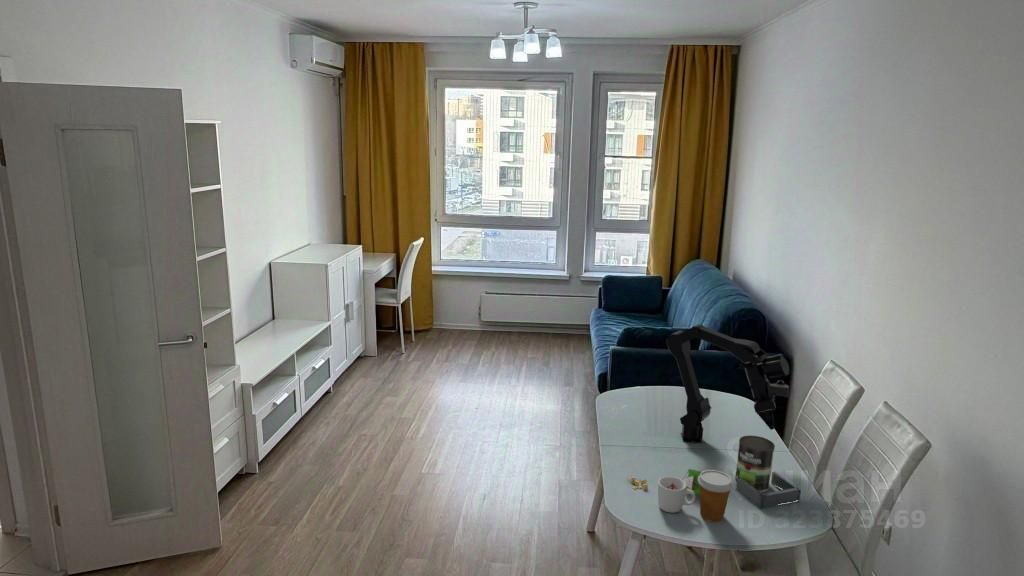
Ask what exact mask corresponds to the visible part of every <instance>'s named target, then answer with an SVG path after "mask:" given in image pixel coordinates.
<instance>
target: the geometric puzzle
mask: <svg viewBox="0 0 1024 576" xmlns="http://www.w3.org/2000/svg"><path fill="white" fill-rule="evenodd" d="M701 472H702V471H698V470H695V469H690V468H689V469H688V470H687V472H686V474H685V475H684V477H683V478H682V480H683V481H684V482H685V484H686V488H687V489H690V490H692V491H694V493H695V495H699V496H700V493H699V492H700V491H699V482H698V476H700V473H701ZM686 475H687V476H686Z"/></svg>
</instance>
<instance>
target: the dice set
mask: <svg viewBox="0 0 1024 576" xmlns="http://www.w3.org/2000/svg"><path fill="white" fill-rule="evenodd" d="M630 483H631V484H634V485H635V486H632V489H634V490H636V489H639V490H641V489H642V490H643V491H647V490H648V489H649V487H648V486H649V485H648V484H647V480H646V479H641V480H640V481H639V479H636V477H634V476H632V477H630ZM640 488H641V489H640Z"/></svg>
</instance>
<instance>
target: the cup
mask: <svg viewBox="0 0 1024 576" xmlns="http://www.w3.org/2000/svg"><path fill="white" fill-rule="evenodd" d="M658 479H659V480H657V494H658V495H657V497H658V498H657V501H658V506H659V508H660V509H661V510H662V511H664V512H667V513H671V514H675V513H678V512H680V511H681V510H682V508H683V506H692V505H694V504H695V501H696V495H697V494H695V493H694V491H692V490H690V489H687V488H686V487H687V486H686V484H685V482H684V481H683V479H682V478H681V479H680V478H678V477H675V476H663V477H660V478H658ZM689 494H690V495H691V496H692V499H691V500H690V501H688V499H687V498H686V496H687V495H689Z"/></svg>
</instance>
